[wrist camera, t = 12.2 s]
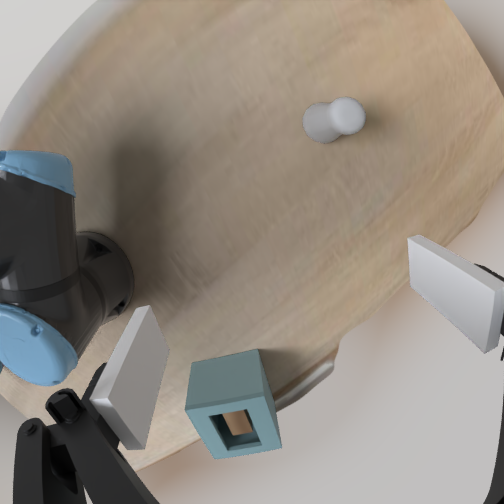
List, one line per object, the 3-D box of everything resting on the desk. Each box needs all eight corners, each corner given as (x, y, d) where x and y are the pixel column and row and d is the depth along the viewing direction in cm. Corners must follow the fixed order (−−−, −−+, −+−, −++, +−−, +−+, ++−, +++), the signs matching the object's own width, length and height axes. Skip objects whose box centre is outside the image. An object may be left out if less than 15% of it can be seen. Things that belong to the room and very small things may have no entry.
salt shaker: (344, 133, 43) (383, 129, 30) (311, 150, 43) (340, 150, 31) (325, 98, 41) (359, 81, 29) (291, 114, 41) (315, 100, 29)
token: (232, 400, 55) (232, 435, 47) (221, 374, 53) (220, 410, 45) (249, 397, 55) (252, 431, 47) (240, 370, 53) (242, 406, 45)
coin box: (215, 413, 57) (214, 459, 46) (191, 362, 53) (184, 410, 42) (274, 401, 57) (282, 447, 46) (257, 348, 53) (264, 395, 41)
